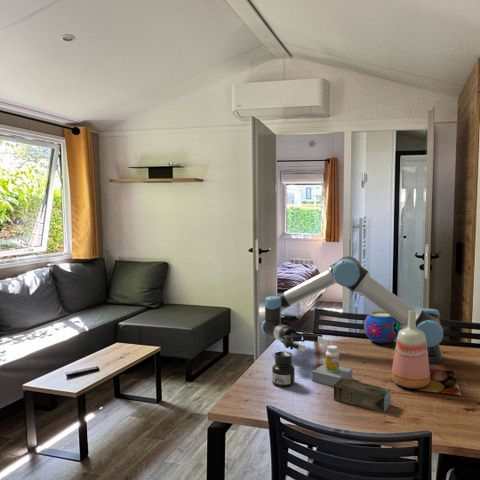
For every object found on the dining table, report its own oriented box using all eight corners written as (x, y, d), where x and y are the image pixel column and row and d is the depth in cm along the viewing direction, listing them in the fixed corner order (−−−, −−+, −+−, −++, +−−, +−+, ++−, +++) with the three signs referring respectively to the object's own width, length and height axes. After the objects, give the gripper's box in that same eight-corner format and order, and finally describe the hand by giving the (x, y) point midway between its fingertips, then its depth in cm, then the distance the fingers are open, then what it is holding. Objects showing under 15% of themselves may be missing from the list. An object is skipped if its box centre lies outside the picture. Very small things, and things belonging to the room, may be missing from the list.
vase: (401, 375, 198) (403, 305, 195) (436, 384, 187) (438, 310, 185) (384, 384, 188) (385, 311, 185) (419, 394, 177) (421, 317, 175)
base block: (352, 378, 194) (352, 369, 194) (339, 387, 184) (339, 377, 184) (325, 372, 201) (325, 363, 201) (312, 380, 192) (312, 371, 191)
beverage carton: (384, 413, 163) (385, 394, 162) (332, 400, 173) (332, 383, 173) (391, 405, 169) (391, 387, 169) (340, 393, 180) (340, 376, 179)
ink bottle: (267, 383, 189) (267, 354, 188) (279, 377, 196) (279, 349, 195) (288, 389, 183) (288, 359, 182) (299, 382, 190) (299, 353, 189)
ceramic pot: (399, 348, 233) (400, 318, 231) (362, 345, 238) (362, 316, 237) (399, 339, 249) (400, 311, 248) (364, 336, 255) (365, 308, 254)
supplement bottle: (323, 368, 195) (324, 345, 194) (336, 367, 195) (336, 344, 195) (327, 372, 190) (327, 349, 189) (340, 372, 190) (340, 348, 189)
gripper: (306, 337, 225) (338, 349, 207) (263, 346, 211) (293, 359, 194) (306, 322, 224) (338, 332, 206) (263, 330, 211) (293, 342, 193)
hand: (316, 345), depth 200 cm, fingers open, 13 cm apart
